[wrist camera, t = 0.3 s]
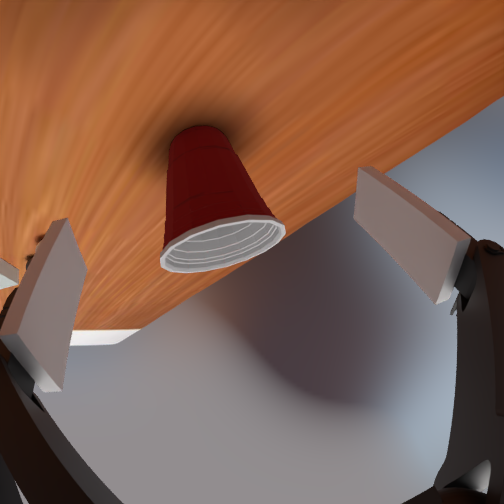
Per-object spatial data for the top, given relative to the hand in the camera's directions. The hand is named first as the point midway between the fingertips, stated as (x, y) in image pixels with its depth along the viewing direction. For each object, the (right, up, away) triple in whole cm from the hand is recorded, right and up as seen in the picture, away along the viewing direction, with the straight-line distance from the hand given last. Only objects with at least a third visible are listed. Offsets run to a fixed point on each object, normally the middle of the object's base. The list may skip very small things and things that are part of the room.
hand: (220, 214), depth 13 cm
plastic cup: (-4, +9, +17) cm, 20 cm away
